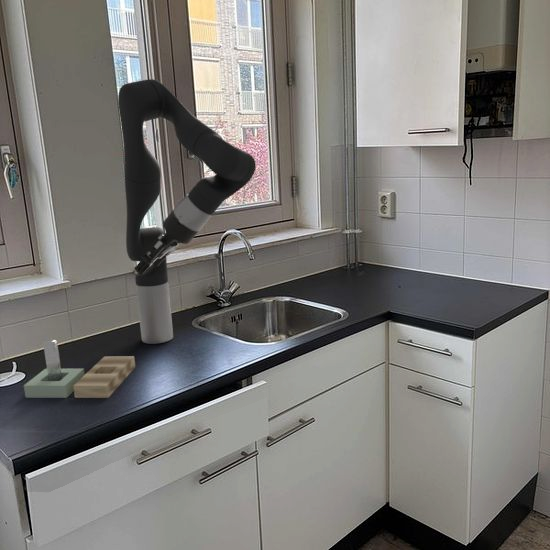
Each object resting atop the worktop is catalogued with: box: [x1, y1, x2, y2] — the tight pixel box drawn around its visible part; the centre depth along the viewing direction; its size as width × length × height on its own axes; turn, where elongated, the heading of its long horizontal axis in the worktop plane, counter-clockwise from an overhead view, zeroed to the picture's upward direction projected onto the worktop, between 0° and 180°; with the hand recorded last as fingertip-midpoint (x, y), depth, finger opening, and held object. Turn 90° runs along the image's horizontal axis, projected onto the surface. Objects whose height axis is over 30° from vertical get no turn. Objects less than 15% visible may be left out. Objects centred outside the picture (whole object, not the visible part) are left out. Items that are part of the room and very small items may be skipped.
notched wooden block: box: [73, 355, 136, 399], centre depth 136 cm, size 18×8×3 cm, turn 174°
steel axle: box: [42, 338, 62, 381], centre depth 133 cm, size 3×3×12 cm
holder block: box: [23, 368, 86, 399], centre depth 134 cm, size 10×10×3 cm
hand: (146, 267), depth 132 cm, fingers open, 8 cm apart
